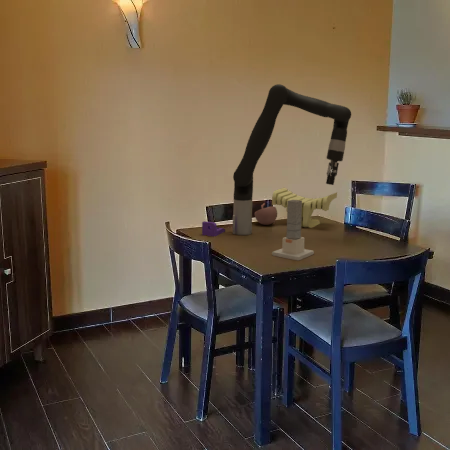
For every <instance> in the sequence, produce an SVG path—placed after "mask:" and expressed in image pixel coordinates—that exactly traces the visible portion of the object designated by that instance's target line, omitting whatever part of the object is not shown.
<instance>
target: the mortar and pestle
mask: <svg viewBox="0 0 450 450" xmlns="http://www.w3.org/2000/svg"><path fill="white" fill-rule="evenodd" d="M264 206H266V203H265V202H263V203H262V204H260V209H258V210H256V211H255V212H254V218H255V219H256V221H257V223H259V224H260V225H264V226H267V225H272V224H273V223H274V222H275V221H276V220H277V218H278V210H277V207H276V206H275V205H271V206H267V207H264Z"/></svg>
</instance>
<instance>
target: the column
mask: <svg viewBox="0 0 450 450" xmlns="http://www.w3.org/2000/svg"><path fill="white" fill-rule="evenodd" d="M286 209H287V211H286V237H287V238H288V239H293V240H297V239H300V238H301V237H302V227H301V215H302V201H300V200H290V201H288V205H287V207H286Z"/></svg>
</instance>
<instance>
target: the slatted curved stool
mask: <svg viewBox="0 0 450 450" xmlns="http://www.w3.org/2000/svg"><path fill="white" fill-rule="evenodd" d="M271 197H272V198H271V206H276V205H277V206H282V207H283V208H284V209H286V212H287V205H288V201H290V200H300V201H302V215H301V228H309V229H310V228H311V229H312V228H314V227H316V226H318V225H321V222H320V219H316V218H314V219H313V218H312V215H313V213H314V210H319V211H320V210H322V211H324V212H327V211H329V210H330V205H331V203H332V201H333V200H335V199H337V198H338V192H337V191H336V192H334V193H332V194H330V195H327V196H323V197H318V198H310V197H304V196H301V195H298V194H297V193H293V192H292V191H291V190H288V188H286V187H282V188H279V189H276V190H274V191H273V192H272V195H271Z"/></svg>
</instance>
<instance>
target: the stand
mask: <svg viewBox="0 0 450 450" xmlns="http://www.w3.org/2000/svg"><path fill="white" fill-rule="evenodd" d="M281 245H282V248H280V249H276V250H274V251H272V252H271V254H272V255H271V256H274V257H277V258H279V257H280V258H284V259H289V260H293V261H297V262H298V261H301V260H304V259H306V258H308V257H310V256H313V255H314V253H315V250H311V249H306V248H305V237H303V236H301V238H300V239H297V240H293V239H288V238H287V236H285V237H282V244H281Z"/></svg>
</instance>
